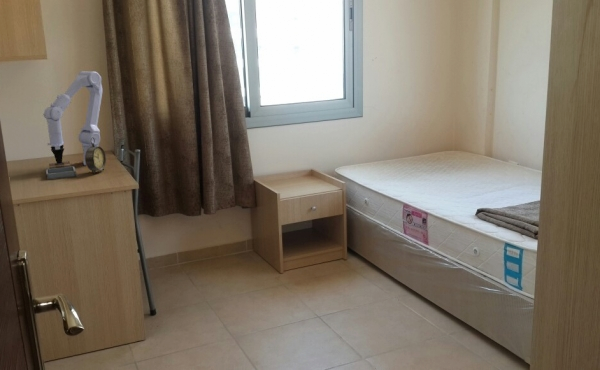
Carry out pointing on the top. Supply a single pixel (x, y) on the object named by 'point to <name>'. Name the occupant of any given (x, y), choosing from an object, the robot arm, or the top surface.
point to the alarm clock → (95, 158)
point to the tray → (60, 173)
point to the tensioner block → (54, 165)
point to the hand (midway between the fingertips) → (59, 162)
